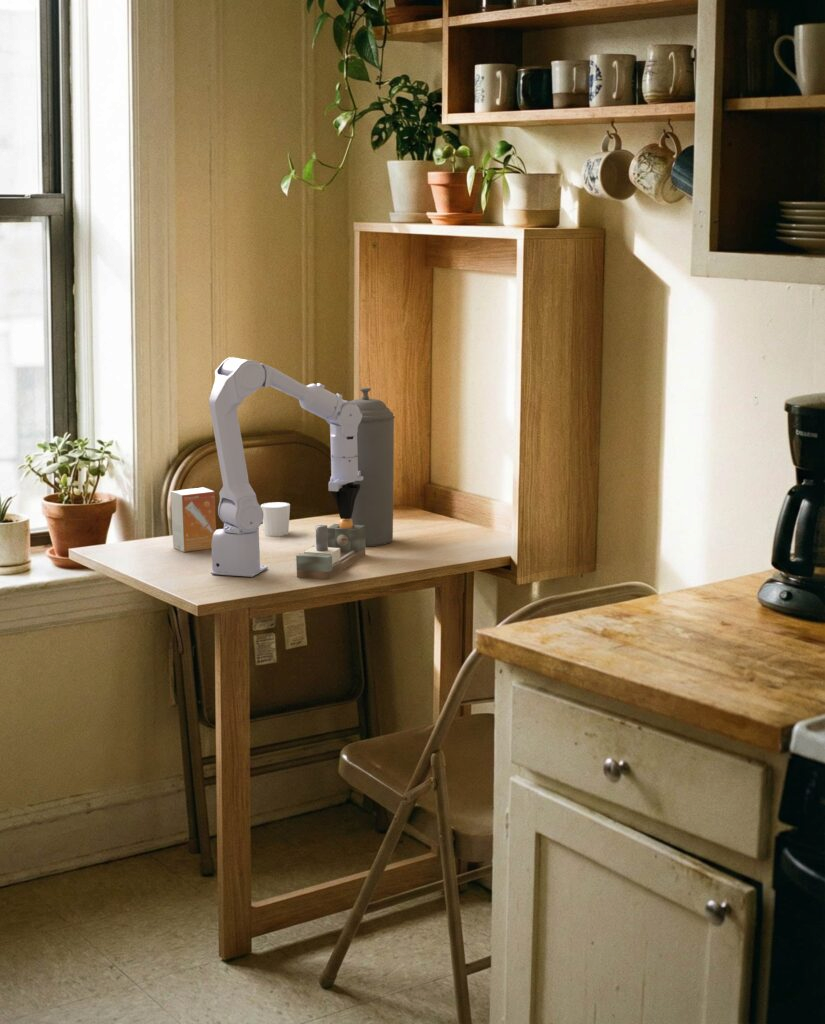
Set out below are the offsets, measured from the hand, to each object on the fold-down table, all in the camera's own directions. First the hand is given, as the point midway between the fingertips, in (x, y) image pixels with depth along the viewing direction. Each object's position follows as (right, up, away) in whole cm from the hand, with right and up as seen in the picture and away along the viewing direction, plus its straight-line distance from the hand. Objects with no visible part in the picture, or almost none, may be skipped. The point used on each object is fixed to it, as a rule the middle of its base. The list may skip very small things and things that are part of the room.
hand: (345, 518), depth 292 cm
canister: (+4, -6, +15) cm, 17 cm away
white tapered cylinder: (-18, -4, +25) cm, 31 cm away
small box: (-34, -7, +12) cm, 37 cm away
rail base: (-3, -10, -7) cm, 12 cm away
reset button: (0, -3, +1) cm, 3 cm away
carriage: (-4, -9, -12) cm, 15 cm away
